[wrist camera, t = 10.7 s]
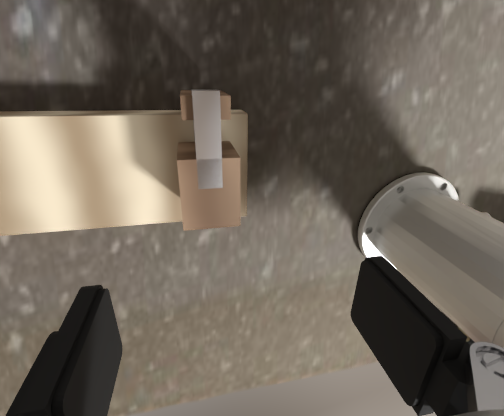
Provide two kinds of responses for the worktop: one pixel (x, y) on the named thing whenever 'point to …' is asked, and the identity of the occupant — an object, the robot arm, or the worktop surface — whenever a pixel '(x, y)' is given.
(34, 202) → the birch board
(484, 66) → the worktop surface
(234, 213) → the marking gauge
